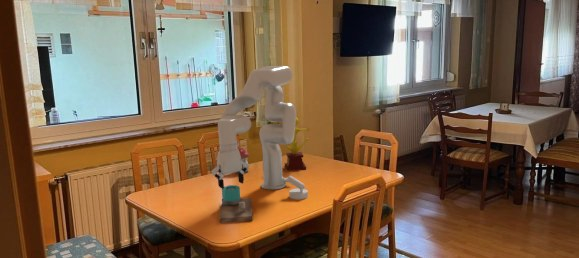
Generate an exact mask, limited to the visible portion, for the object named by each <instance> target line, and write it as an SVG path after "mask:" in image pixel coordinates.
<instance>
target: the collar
mask: <svg viewBox="0 0 579 258" xmlns="http://www.w3.org/2000/svg"><path fill="white" fill-rule="evenodd" d="M229 188H233V189H229ZM240 197H241V187H240V186H239V185H234V184H233V185H231V184H229V185H224V188H223V189H222V188H221V200H222V199H223V200H224V201H232V202H233V201H236V200H239V199H240Z"/></svg>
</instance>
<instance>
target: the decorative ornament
mask: <svg viewBox="0 0 579 258" xmlns="http://www.w3.org/2000/svg"><path fill="white" fill-rule="evenodd" d="M238 149H239V152H240V156H241V161H243V162H246V163H248V161H247V159H246V158H249V157H250V154H249V152H248V151H247V150H246V149H245V148H242V147H239V148H238ZM243 166H244V165H243V164H242V168H243ZM249 166H250V165H249V163H248V166H247V169H246V171H245V172H244V174H247V173H249ZM235 173H236V174H238V173H239V172H235Z"/></svg>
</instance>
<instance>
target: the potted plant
mask: <svg viewBox="0 0 579 258" xmlns="http://www.w3.org/2000/svg"><path fill="white" fill-rule="evenodd" d="M299 122H300V121H299V118H298V117H297V116H296V124H295V133H294V139H293V141H292V143H291V145H292V146H289V144H288V145H284V146H285V147H286V148H287V149H288V150H289V151H290V152H286V157H287V159H286V162H285V163H284V168H285V170H286V171H288V172H289V171H302V170H303V171H304V170H307V166H306V164H305V162H304V161H303V158H304V154H303V152H302V151H301V149H302V148H303V147H304V145H305V143H306V142H307V141H309V138H308V137H307V138H305V140H304V141H303V142H302V143H301V144H300V145H299V146H298V141H296V138H297V135H298V133H299V132H300V131H307V132H310V126H307V128H298V127H297V126H298V125H299Z"/></svg>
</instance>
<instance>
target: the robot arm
mask: <svg viewBox="0 0 579 258" xmlns="http://www.w3.org/2000/svg"><path fill="white" fill-rule="evenodd" d="M292 79H293V70H292V69H291V68H290V67H289V66H286V65H274V66H273V65H268V66H263V67H261V68H255V69H253V70H252V71H251V72H250V73H249V76H248V78H247V79H246V83H245V84H244V86H243V89H242V91H241V93H240V94H238V95H237V96H236V97H235V98H234V99H233V100H231V101H230V102H229V103H228V104H227V105H226V107H225V108H224V110H223V112H222V114H221V116H220V118H219V120H218V121H217V130H218V143H219V144H218V145H219V150H218V151H217V157H216V158H217V160H216V161H217V162H216V165H217V166H216V167H214V168H213V169H212V170H211V174H212V175H213V176H214V178H216V179H217V183H218V184H217V185H218V187H219V188H221V190H222V189H223V188H224V187H225V183H224V179H223V178H224V177H225V175H229V174H234V173H236V172H239V173H237V176H238V177H237V178H238V183H241V184H244V180H245V179H244V176H245V173H244V172H245V171H246V169H247V166H248V165H249V163H246V162H243V161H241V156H240V152H239V148H238V147H239V146H240V142H238V141H237V134H244V133H247V132H249V130H251V127H252V121H251V119H250V117H248V116H246V115H239V114H238V113H239V112H241V111H242V110H244V109H246V108H249V107H252V106H254V105H256V104H257V103H258V102H259V100H260V98H261V96H262V93H263V91H264V89H265V91H266V92H265V93H266V99H265V106H264V107H265V109H264V117H265V120H266V121H269V122H273V123H269V124H264V125H262V126H261V127H260V129H259V139H260V142H261V143H260V144H261V150H262V151H261V152H262V170H263V171H262V172H263V182H261V183H260V187H261V189H264V190H270V191H271V190H273V191H274V190H280V189H283V188H286V186H287V183H289V182H288V181H287V178H288V177H284V176H283V158H282V155H283V154H282V149H281V146H280V145H283V146H285V145H288V146H289V145H290V144H291V145H292V141H293V139H294V133H295V128H296V126H295V124H296V117H297V109H296V106H295V105H294V104H292V103H291V102H284V98H285V97H284V91H283V88H282V86H284V85H287V84H289V83H290V82H291V81H292ZM237 114H238V115H237ZM275 122H277V123H282V124H274V123H275ZM242 164H243V165H244V166H243V168H242Z"/></svg>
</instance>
